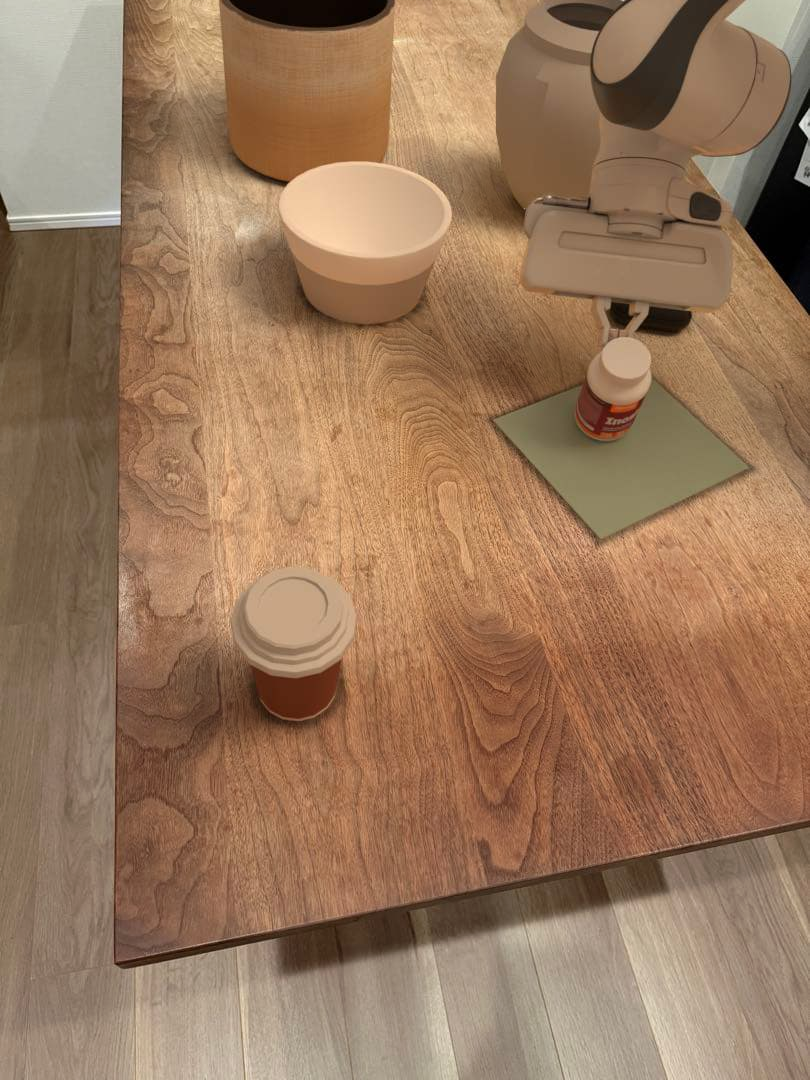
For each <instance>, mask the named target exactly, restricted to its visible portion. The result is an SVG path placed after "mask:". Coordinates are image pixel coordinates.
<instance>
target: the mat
mask: <svg viewBox="0 0 810 1080" xmlns="http://www.w3.org/2000/svg"><path fill="white" fill-rule="evenodd" d="M582 386H583V384H580V385H578V386H575V387H572V388H571V389H568V390H565V391H563V392H560V393H558V394H557V393H556V394H555V395H552V396H550V397H548V398H545V399H542V400H539V401H537V402H534V403H531V404H529V405H527V406H524V407H521V408H519V409H516V410H513V411H512V412H509V413H506V414H503V415H500V416H499V417H497V418H493V419H492V421H493V423H494V424H495V425H496V426H497V427H498V428H499V430H500V431H501V432H502V433H503V434H504V435H505V436H506V437H507V438H508V440H509V441H510V442H511V443H512V444H513V445H514V446H515V447H516V449H518V451H520V453H521V454H522V455H523V456H524V457H525V458H526V459H527V460H528V462H529V463H530V464H531V465H532V466H533V467H534V468H535V469H536V470H537V472H538V473H539V474H540V475H541V477H543V478H544V480H545V481H547V483H548V484H549V485H550V486H551V487H552V488H553V489H554V490H555V492H556V493H557V494H558V495H559V496H560V497H561V498H562V499H563V500H564V502H565V503H566V504H567V505H568V506H569V507H570V508H571V509H572V511H574V513H575V514H576V515H577V516H578V517H579V518H580V519H581V520H582V522H583V523H584V524H585V525H586V526H587V527H588V528H589V529H590V530H591V531H592V533H593V534H594V535H595V536H596V537H597V538H598V539H599V540H603V539H605V538H607V537H609V536H611V535H613V534H616V533H617V532H620V531H621V530H623V529H625V528H628V527H630V526H632V525H634V524H636V523H638V522H641V521H642V520H644V519H647V518H649V517H651V516H653V515H655V514H658V513H659V512H662V511H663V510H665V509H667V508H669V507H672V506H673V505H676V504H677V503H680V502H681V501H684V500H687V499H689V498H690V497H692V496H694V495H697V494H699V493H701V492H703V491H705V490H707V489H709V488H711V487H714V486H715V485H717V484H719V483H722V482H725V481H726V480H727V479H730V478H732V477H734V476H736V475H737V474H738V475H739V474H740V473H742V472H745V471H747V470H749V469H750V466H749V465H748V464H747V463H746V462H744V461H743V460H742V459H741V458H740V457H739V456H738V455H737V454H736V453H734V451H733V450H732V449H730V448H729V447H728V446H727V445H726V444H725V443H724V442H723V441H722V440H720V439H719V438H718V437H717V436H716V435H715V434H714V433H713V432H712V431H711V430H710V429H709V428H707V426H705V425H704V424H703V423H702V422H701V421H700V420H699V419H698V418H697V417H695V415H693V414H692V413H691V412H690V411H689V410H688V409H687V408H685V406H683V404H681V403H680V402H679V401H678V400H677V399H676V398H675V397H674V396H673V395H671V394H670V393H669V392H668V390H666V389H665V388H664V387H663V386H662V385H661V384H660V383H659V382H657V380H655V378H654V377H652V376H651V384H650V387H649V389H648V392H647V394H646V396H645V398H644V400H643V403H642V405H641V407H640V409H639V411H638V414H637V416H636V418H635V420H634V422H633V424H632V426H631V428H630V429H629V431H628V432H627V433H626V434H625V435H624V436H622V437H620V438H618V439H616V440H612V441H600V440H596V439H593V438H591V437H589V436H587V435H586V434H585V433H584V432H583V431H582V430H581V429H580V428H579V426H578V425H577V422H576V419H575V408H576V404H577V401H578V398H579V395H580V392H581V389H582Z"/></svg>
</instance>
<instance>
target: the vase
mask: <svg viewBox="0 0 810 1080" xmlns="http://www.w3.org/2000/svg"><path fill="white" fill-rule="evenodd" d="M623 1H624V0H542V1H541V2H539V3H537V4H535V5H533V6H532V7H530V8H529V9H528V10H527V12H526V13H525V15H524V26H522V28H521V29H520V30H518V31H517V32H516V33H515V34H514V35H513V36H512V37H511V38H510V39H509V40H508V42H507V44H506V47H505V50H504V53H503V54H502V55H503V56H502V58H501V60H500V63H499V67H498V69H497V72H496V74H495V135H496V140H497V146H498V151H499V157H500V163H501V168H502V172H503V174H504V176H505V179H506V181H507V183H508V186H509V189H510V191H511V193H512V196H513V197H514V198H515V200H516V201H517V203H518V205H519V206H520V207H521V208H522V210H524V211H525V212H526V209H527V206H528V205H529V204H530V202H531V201H533V200H534V199H536V198H539V197H543V195H544V194H556V195H557V196H564V197H565V196H567V197H568V196H575V197H584V198H589V191H590V183H591V176H592V168H593V164H594V161H595V158H596V156H597V154H598V150H599V146H600V133H599V126H598V123H599V114H600V109H599V107H598V105H597V102H596V100H595V97H594V94H593V90H592V84H591V77H590V59H591V52H592V48H593V45H594V42H595V39H596V37H597V35H598V33H599V31H600V29H601V27H602V25H603V24H604V22H605V21H606V20H607V18H608V17H609V16H610V15H611V13H612V12H613V11H614V10H615V9H616V8H617V7H618V6H619V5H620V4H621V3H622V2H623ZM536 204H542V201H541V202H538V203H536ZM524 208H525V209H524Z"/></svg>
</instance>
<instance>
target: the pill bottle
mask: <svg viewBox="0 0 810 1080" xmlns="http://www.w3.org/2000/svg"><path fill="white" fill-rule="evenodd" d="M601 350H602V351H600V352H599V353H598V354H596V355H595V357H593V359H592V360H591V361H590V363H589V365H588V369H586V370H587V371H586V374H585V376H584V379H583V383H582V385H583V386H582V389H581V392H580V395H579V398H578V401H577V404H576V408H575V419H576V422H577V425H578V426H579V428H580V429H581V430H582V431H583V432H584V433H585V434H586V435H587V436H589V437H591V438H593V439H596V440H600V441H612V440H616V439H618V438H620V437H622V436H624V435H625V434H626V433H627V432H628V431H629V429H630V428H631V426H632V424H633V422H634V420H635V418H636V416H637V414H638V411H639V409H640V407H641V405H642V403H643V400H644V398H645V396H646V394H647V392H648V389H649V387H650V384H651V377H652V371H651V366H652V365H651V364H652V354H651V352H650V350H649V349H648V347H647V346H646V345H645V344H644V343H643V342H641V341H640V340H638V339H636V338H634V337H633V338H629V337H619V338H615V339H613V340H611V341H610V342H608V343H607V344H606V345H605V347H604V348H602V349H601Z"/></svg>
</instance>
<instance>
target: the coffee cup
mask: <svg viewBox="0 0 810 1080" xmlns="http://www.w3.org/2000/svg"><path fill="white" fill-rule="evenodd" d="M357 621H358V614H357V611H356V608H355V605H354V602H353V599H352V596H351V595H350V594H349V592H348V591H347V590H346V589H345V588H344V587H343V586H342V585H341V584H340V582H339V581H337V580H336V579H334V578H333V577H331V576H328V575H327V574H324V573H322V572H321V571H318V570H316V569H314V568H312V567H304V566H297V565H291V566H286V567H280V568H275V569H273V570H270V571H269V572H267V573H266V574H264V575H262V576H260V577H259V578H257V579H255V580H254V581H252V582H250V583H249V584H248V585H247V587H246V588H245V589H244V590H243V592H242V593H241V594H240V595H239V596H238V598H237V599H236V600H235V603H234V607H233V611H232V613H231V618H230V628H231V631H232V636H233V641H234V645H235V648H236V649H237V650H238V652H239V653H240V654H241V656H242V657H243V659H245V661H246V662H247V663H248V664H249V665H250V668H251V672H252V675H253V679H254V681H255V685H256V689H257V692H258V695H259V699H260V702H261V703H262V705H263V706H264V707H265V708H266V710H267V711H268V712H269V713H270V714H272V715H273V716H276V717H278V718H280V719H282V720H285V721H292V722H293V721H294V722H301V721H306V720H310V719H314V718H316V717H317V716H318V715H320V714H322V713H324V712H325V711H326V710H327V709H328V708H329V707H330V705H331V704H332V703H333V701H334V699H335V697H336V693H337V686H338V681H339V676H340V670H341V665H342V661H343V658H344V657H345V655H346V653H347V651H348V650H349V649H350V647H351V646H352V644H353V643H354V641H355V635H356V629H357Z"/></svg>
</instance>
